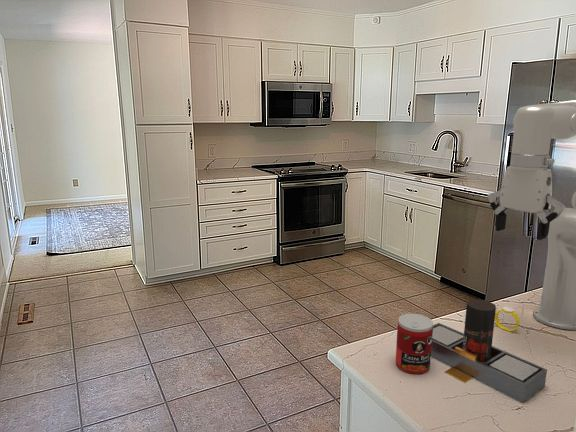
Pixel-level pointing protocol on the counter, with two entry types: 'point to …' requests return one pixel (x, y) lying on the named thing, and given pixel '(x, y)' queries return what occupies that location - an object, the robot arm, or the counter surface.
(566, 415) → the counter surface
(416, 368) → the canned food
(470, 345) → the deodorant
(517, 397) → the rack
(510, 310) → the watch
